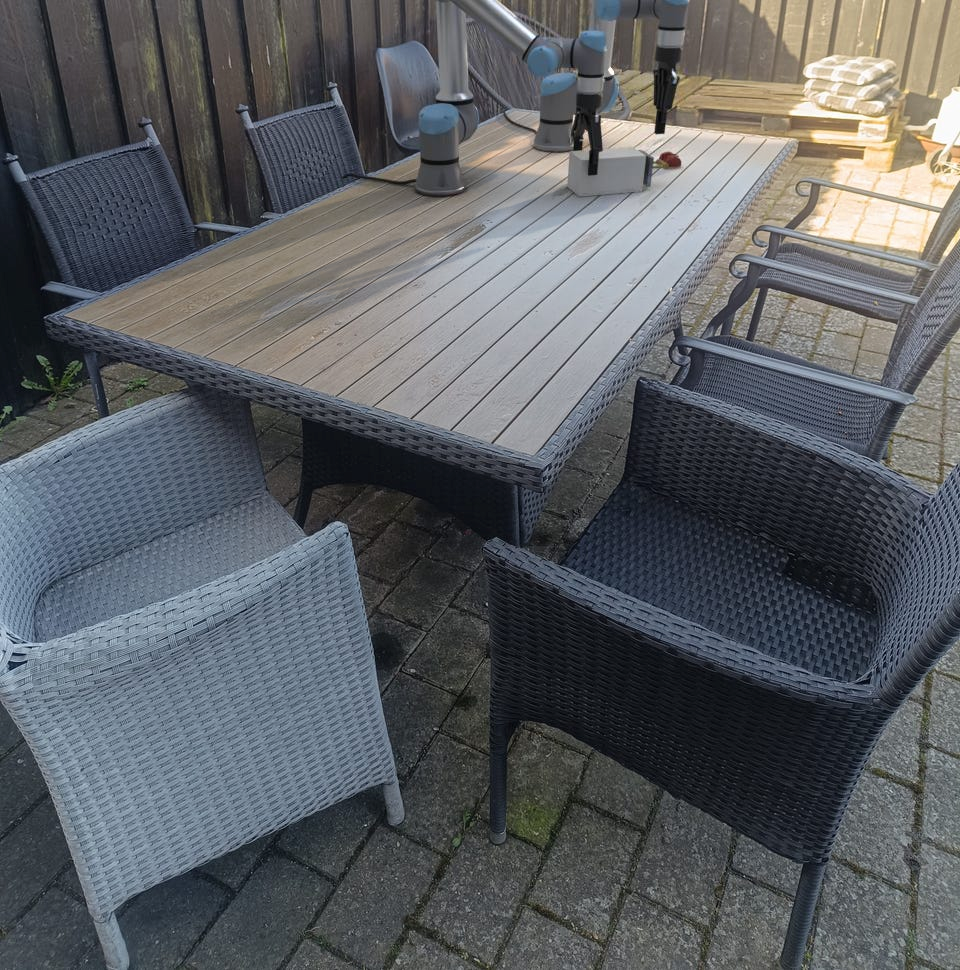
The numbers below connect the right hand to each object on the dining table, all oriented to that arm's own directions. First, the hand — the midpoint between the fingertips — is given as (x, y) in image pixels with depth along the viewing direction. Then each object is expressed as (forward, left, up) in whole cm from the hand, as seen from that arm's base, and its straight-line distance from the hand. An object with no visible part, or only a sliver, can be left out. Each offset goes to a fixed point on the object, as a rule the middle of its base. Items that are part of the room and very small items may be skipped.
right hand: (659, 133), depth 254 cm
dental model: (-19, +14, -15) cm, 28 cm away
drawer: (0, -10, -14) cm, 17 cm away
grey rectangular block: (+1, -16, -15) cm, 22 cm away
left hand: (+1, -23, -9) cm, 25 cm away
